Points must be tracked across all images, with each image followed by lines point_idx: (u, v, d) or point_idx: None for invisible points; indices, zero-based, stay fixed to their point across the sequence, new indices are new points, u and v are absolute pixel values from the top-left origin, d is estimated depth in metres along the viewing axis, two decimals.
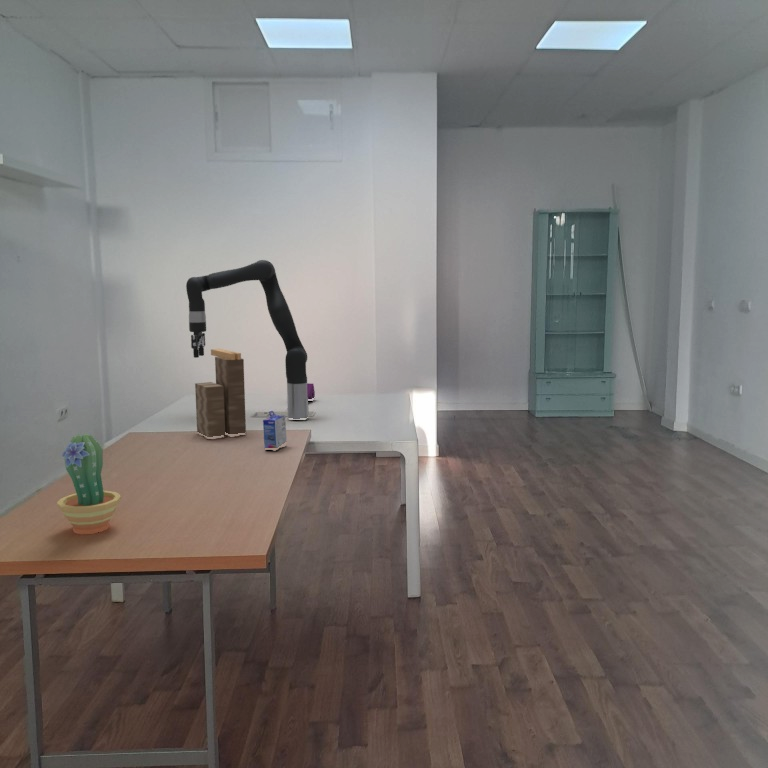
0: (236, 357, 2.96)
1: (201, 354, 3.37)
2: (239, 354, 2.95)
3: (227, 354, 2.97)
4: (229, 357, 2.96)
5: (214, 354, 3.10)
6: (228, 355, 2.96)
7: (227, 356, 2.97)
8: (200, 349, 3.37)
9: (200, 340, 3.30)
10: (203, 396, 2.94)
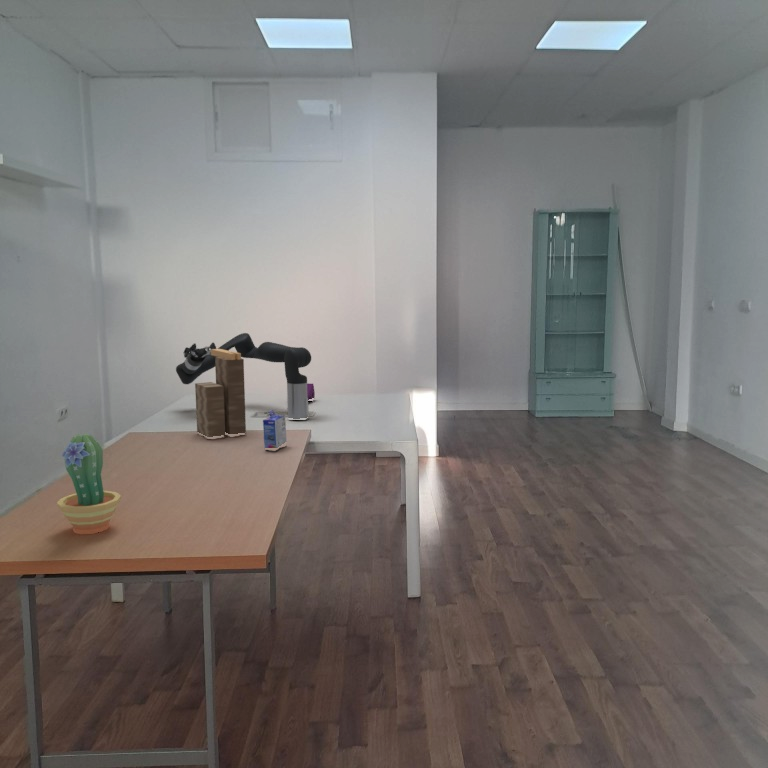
0: (236, 357, 2.96)
1: None
2: (239, 354, 2.95)
3: (227, 354, 2.97)
4: (229, 357, 2.96)
5: (214, 354, 3.10)
6: (228, 355, 2.96)
7: (227, 356, 2.97)
8: None
9: (205, 354, 3.35)
10: (203, 396, 2.94)
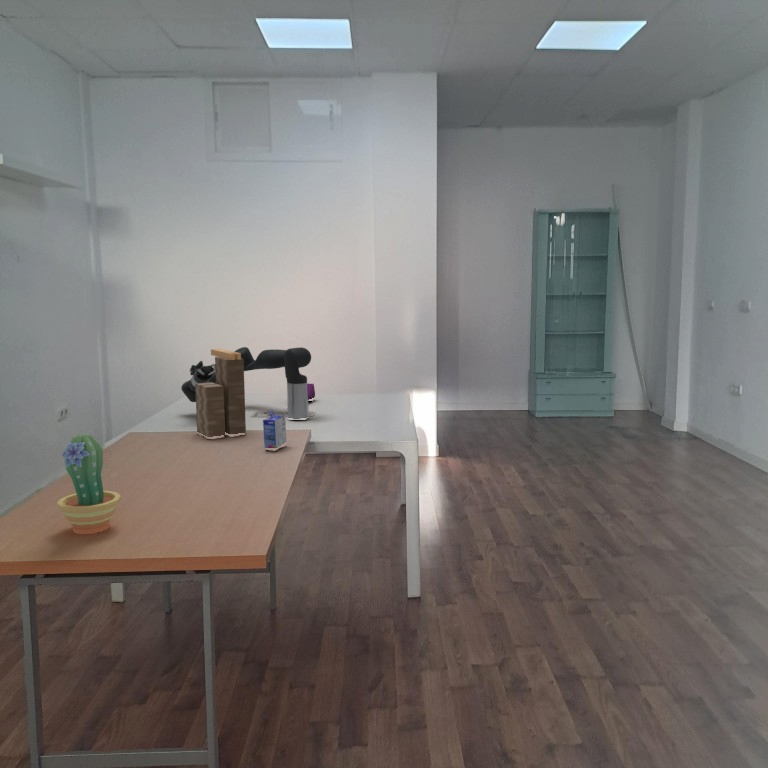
0: (236, 357, 2.96)
1: None
2: (239, 354, 2.95)
3: (227, 354, 2.97)
4: (229, 357, 2.96)
5: (214, 354, 3.10)
6: (228, 355, 2.96)
7: (227, 356, 2.97)
8: None
9: (212, 372, 3.25)
10: (203, 396, 2.94)
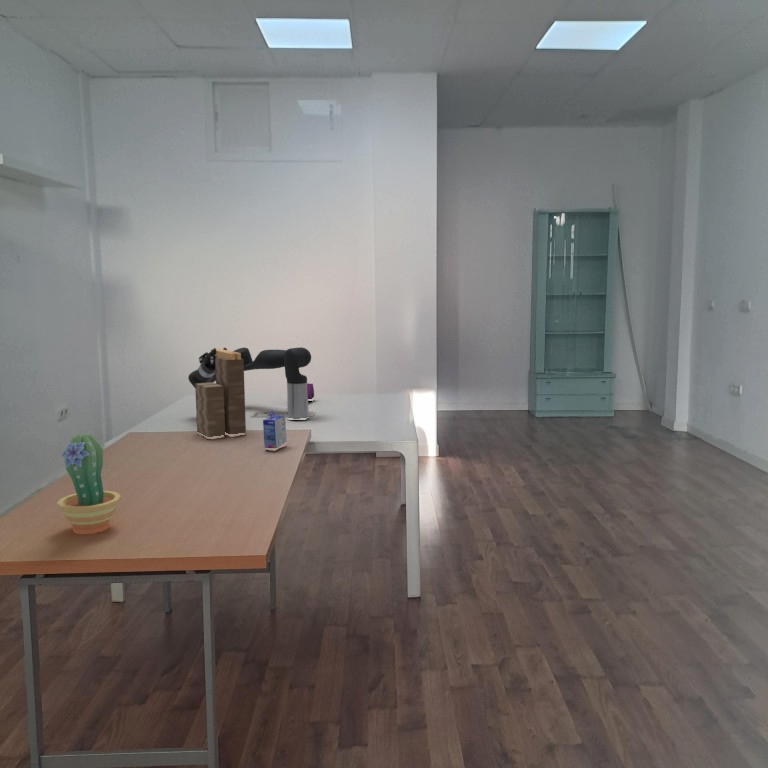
0: (236, 357, 2.96)
1: None
2: (239, 354, 2.95)
3: (227, 354, 2.97)
4: (229, 357, 2.96)
5: None
6: (228, 355, 2.96)
7: (227, 356, 2.97)
8: None
9: None
10: (203, 396, 2.94)
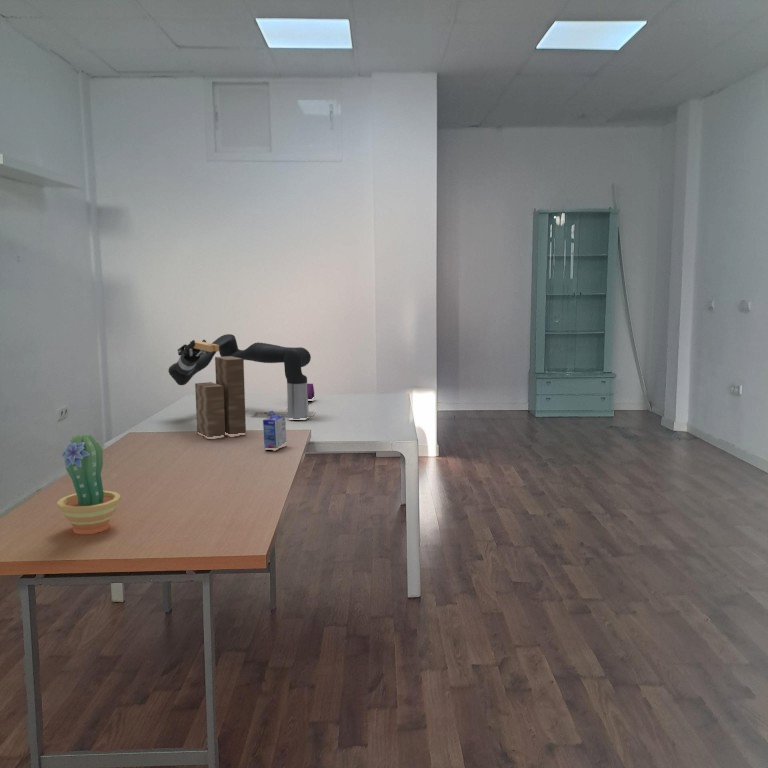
0: (214, 349, 2.91)
1: None
2: (217, 346, 2.90)
3: (205, 346, 2.92)
4: (207, 349, 2.90)
5: None
6: (206, 346, 2.91)
7: (205, 348, 2.92)
8: None
9: (198, 353, 3.11)
10: (203, 396, 2.94)
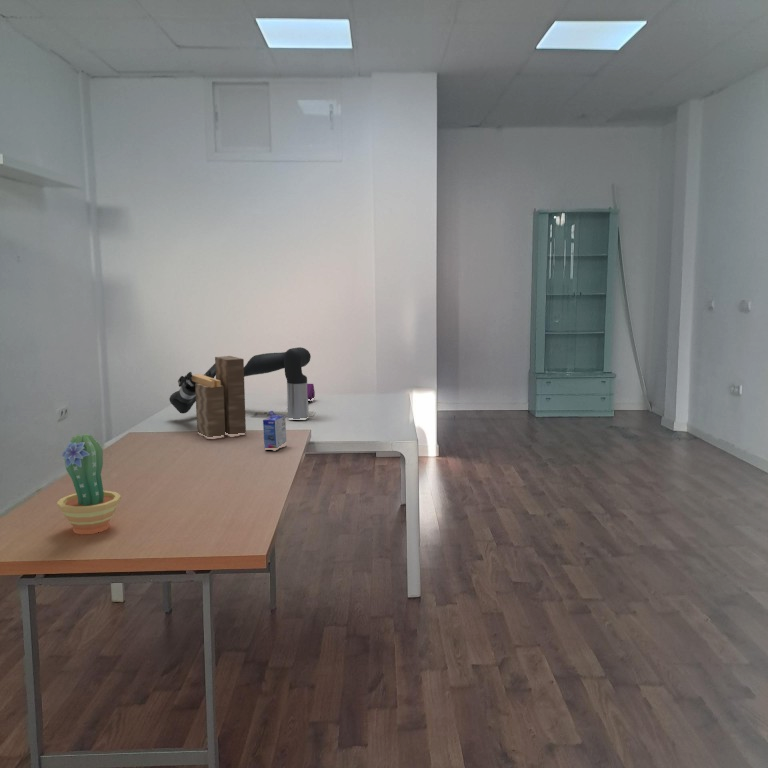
0: (216, 384, 2.93)
1: None
2: (219, 381, 2.92)
3: (207, 381, 2.94)
4: (209, 385, 2.92)
5: (194, 380, 3.07)
6: (207, 382, 2.93)
7: (207, 383, 2.94)
8: None
9: None
10: (203, 396, 2.94)
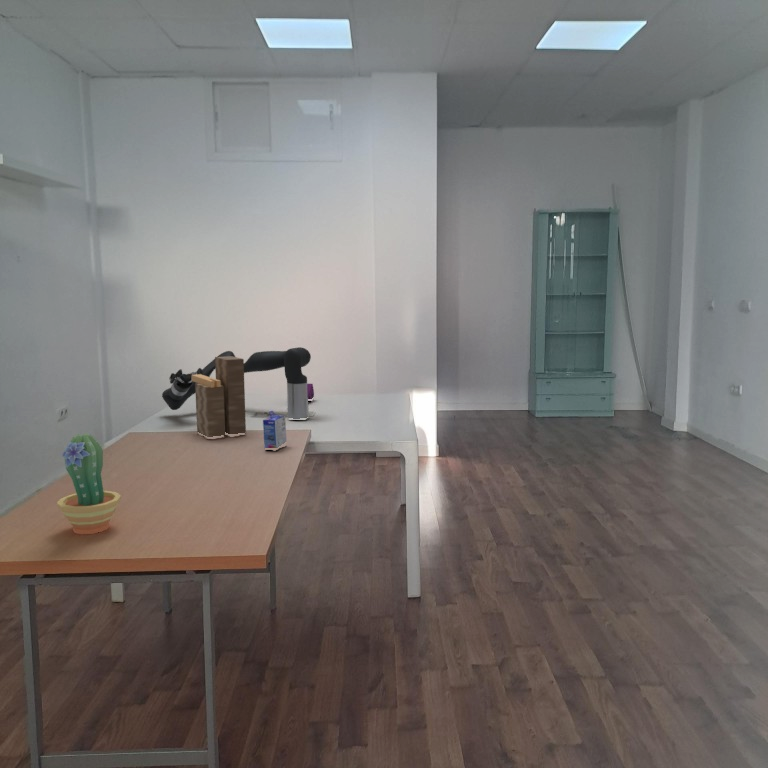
0: (216, 384, 2.93)
1: None
2: (219, 381, 2.92)
3: (207, 381, 2.94)
4: (209, 385, 2.92)
5: (194, 380, 3.07)
6: (207, 382, 2.93)
7: (207, 383, 2.94)
8: None
9: None
10: (203, 396, 2.94)
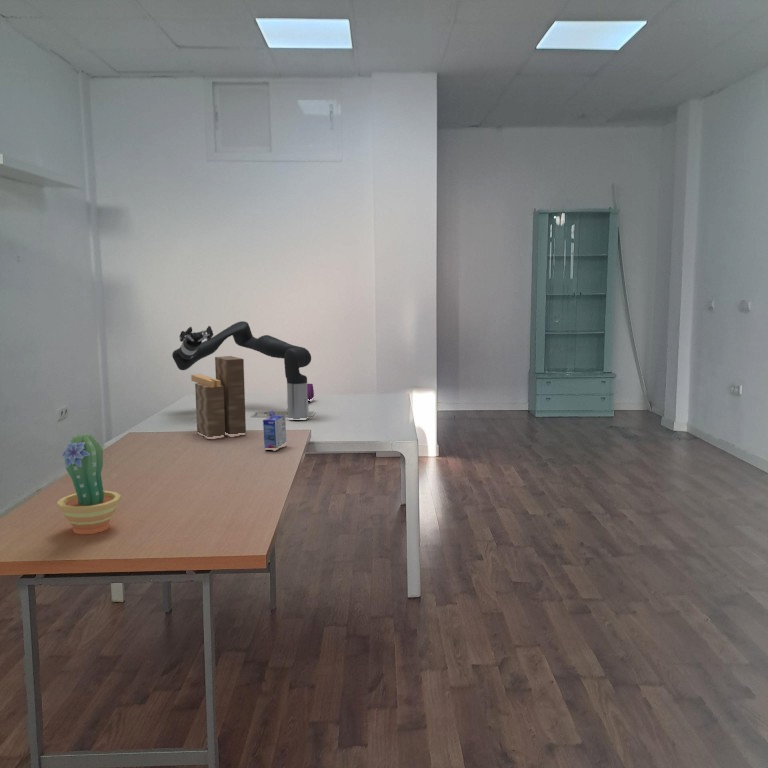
0: (216, 384, 2.93)
1: None
2: (219, 381, 2.92)
3: (207, 381, 2.94)
4: (209, 385, 2.92)
5: (194, 380, 3.07)
6: (207, 382, 2.93)
7: (207, 383, 2.94)
8: None
9: (201, 338, 3.29)
10: (203, 396, 2.94)
